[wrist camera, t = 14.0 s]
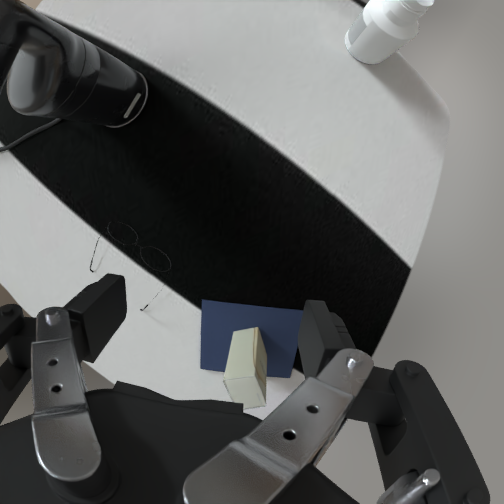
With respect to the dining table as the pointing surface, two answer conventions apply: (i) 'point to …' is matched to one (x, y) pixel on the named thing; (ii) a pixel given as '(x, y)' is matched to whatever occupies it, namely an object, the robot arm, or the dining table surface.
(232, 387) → the cosmetic box
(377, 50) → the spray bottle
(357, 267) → the dining table surface
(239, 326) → the cloth
